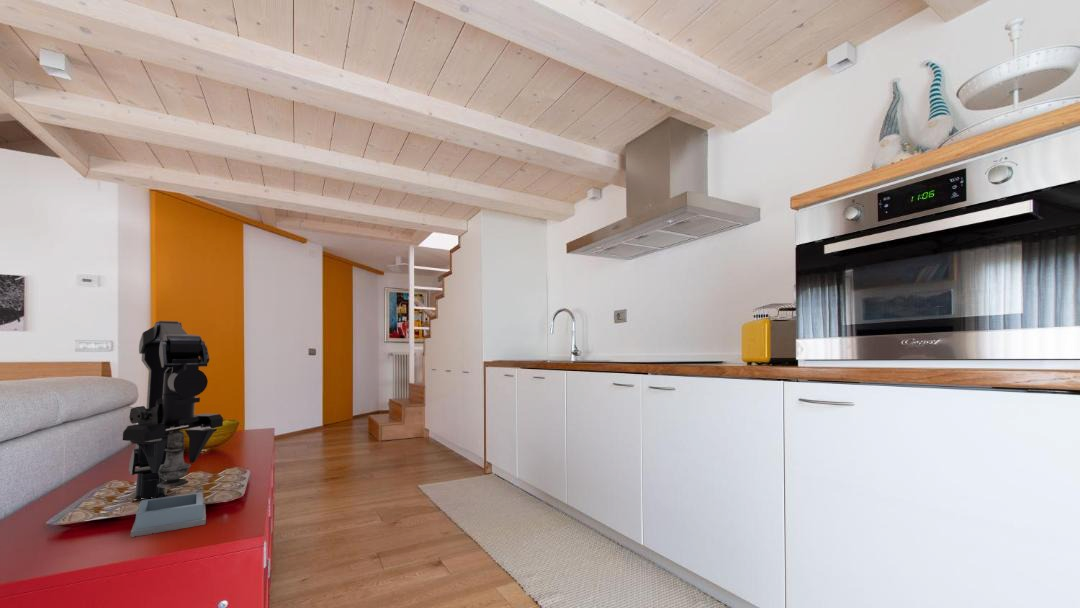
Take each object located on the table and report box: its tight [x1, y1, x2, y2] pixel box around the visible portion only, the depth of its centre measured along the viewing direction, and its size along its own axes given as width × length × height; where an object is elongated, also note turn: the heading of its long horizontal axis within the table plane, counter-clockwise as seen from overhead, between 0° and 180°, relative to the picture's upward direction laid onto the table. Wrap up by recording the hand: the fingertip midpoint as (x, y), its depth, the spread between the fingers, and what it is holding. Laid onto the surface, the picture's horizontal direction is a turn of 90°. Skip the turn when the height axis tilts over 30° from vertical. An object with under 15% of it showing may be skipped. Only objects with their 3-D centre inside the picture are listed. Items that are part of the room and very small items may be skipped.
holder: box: [130, 491, 207, 538], centre depth 102 cm, size 12×12×4 cm
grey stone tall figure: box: [157, 430, 192, 489], centre depth 103 cm, size 6×6×12 cm
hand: (174, 467), depth 103 cm, fingers closed on grey stone tall figure, 8 cm apart
